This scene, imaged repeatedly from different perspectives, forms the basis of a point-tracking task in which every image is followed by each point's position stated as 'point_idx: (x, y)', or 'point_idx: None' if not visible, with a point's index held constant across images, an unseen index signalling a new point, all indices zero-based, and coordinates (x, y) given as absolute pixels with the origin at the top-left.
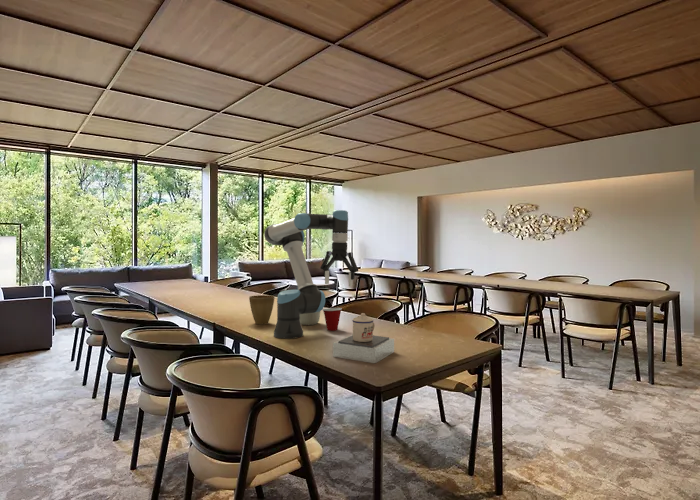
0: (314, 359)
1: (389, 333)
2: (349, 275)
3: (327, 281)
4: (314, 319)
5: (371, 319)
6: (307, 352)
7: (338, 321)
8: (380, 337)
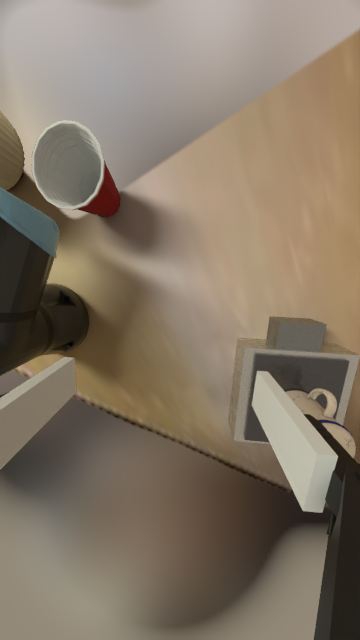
0: (207, 445)
1: (276, 153)
2: (294, 481)
3: (65, 386)
4: (15, 163)
5: (354, 453)
6: (172, 415)
7: (114, 186)
8: (327, 371)
